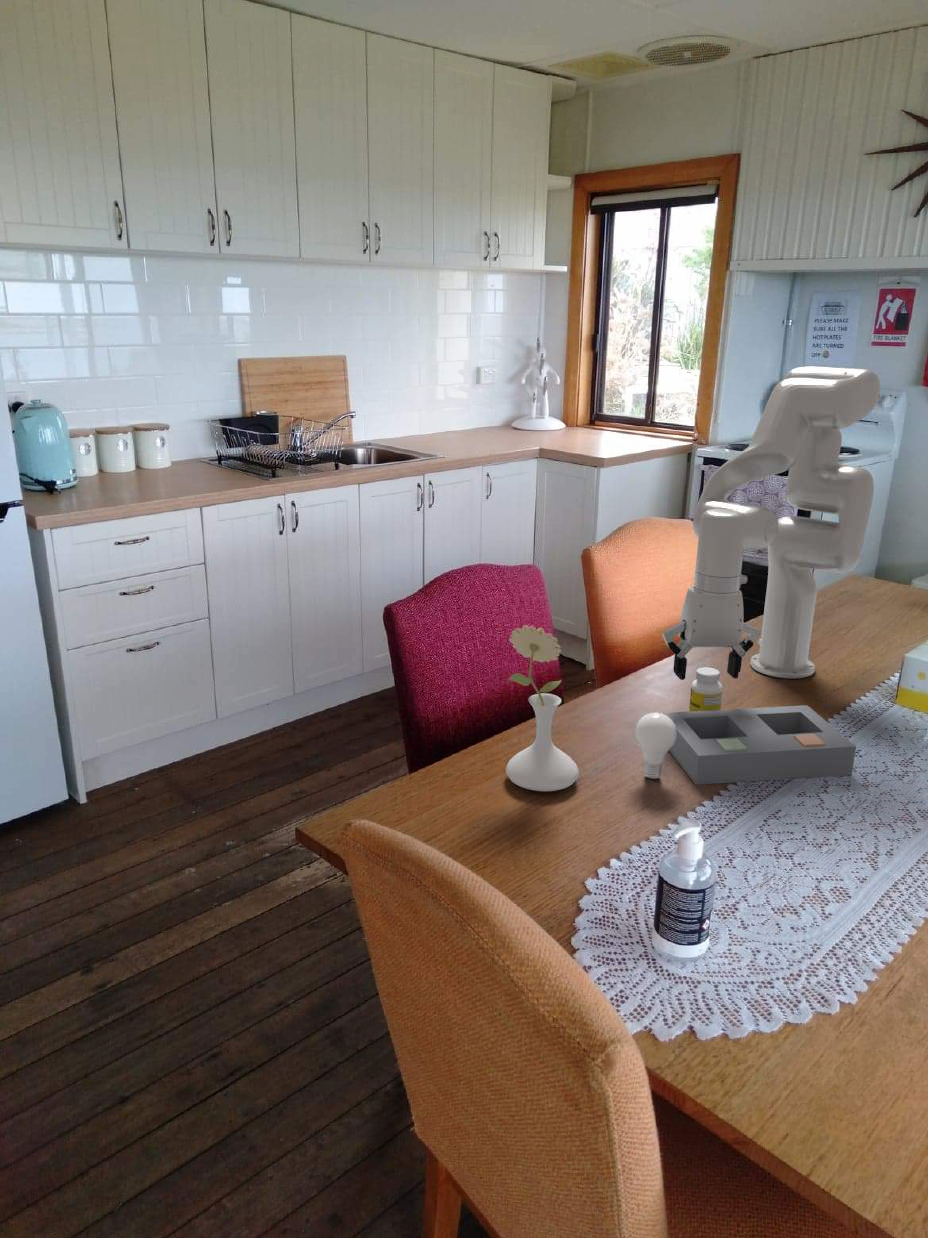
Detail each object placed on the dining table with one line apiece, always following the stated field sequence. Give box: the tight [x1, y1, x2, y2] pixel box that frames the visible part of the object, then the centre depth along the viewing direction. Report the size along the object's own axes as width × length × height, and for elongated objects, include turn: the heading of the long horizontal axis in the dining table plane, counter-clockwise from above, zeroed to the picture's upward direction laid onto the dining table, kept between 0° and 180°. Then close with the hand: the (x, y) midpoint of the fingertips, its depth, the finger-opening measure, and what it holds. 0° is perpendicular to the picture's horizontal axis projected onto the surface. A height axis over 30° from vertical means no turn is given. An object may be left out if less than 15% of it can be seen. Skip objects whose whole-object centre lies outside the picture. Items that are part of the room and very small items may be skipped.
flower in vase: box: [505, 624, 580, 792], centre depth 142 cm, size 13×11×25 cm
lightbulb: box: [634, 711, 677, 780], centre depth 145 cm, size 6×6×11 cm
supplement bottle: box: [688, 666, 723, 712], centre depth 165 cm, size 5×5×10 cm
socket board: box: [662, 704, 857, 786], centre depth 153 cm, size 16×26×5 cm, turn 98°
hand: (706, 676), depth 163 cm, fingers open, 9 cm apart
